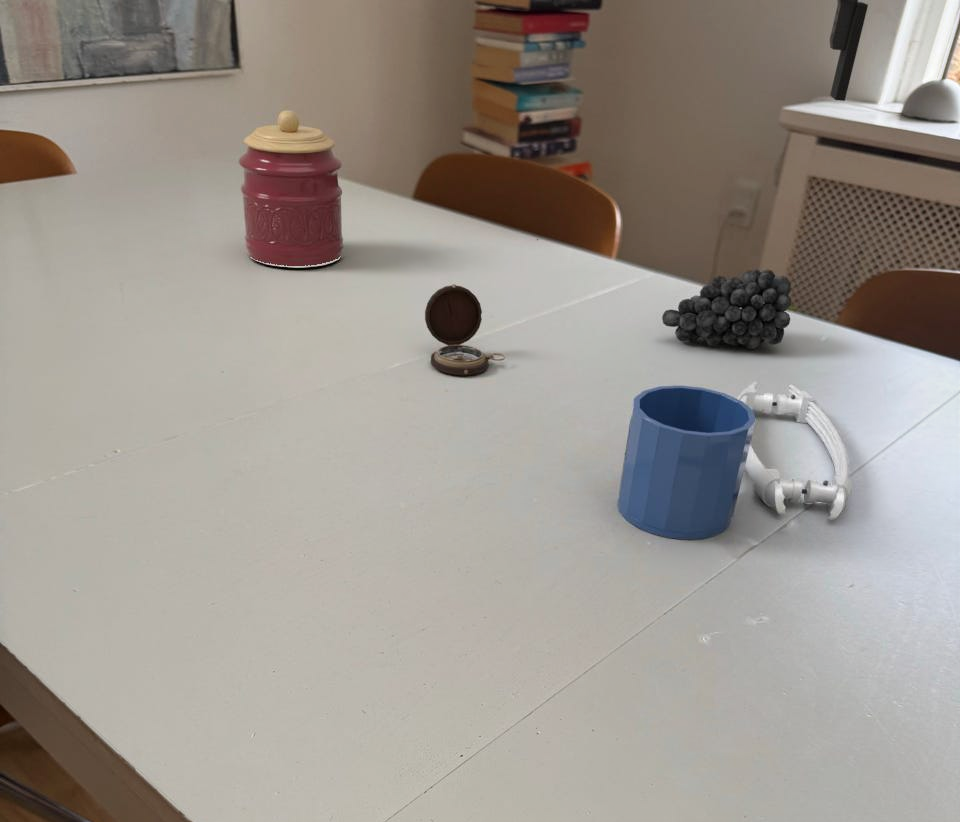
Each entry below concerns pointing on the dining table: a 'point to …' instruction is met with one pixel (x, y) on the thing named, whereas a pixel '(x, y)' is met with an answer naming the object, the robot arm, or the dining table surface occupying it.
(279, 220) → the kitchen canister
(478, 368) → the compass
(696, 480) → the blue cup
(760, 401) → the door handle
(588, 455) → the dining table surface
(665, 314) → the fruit
